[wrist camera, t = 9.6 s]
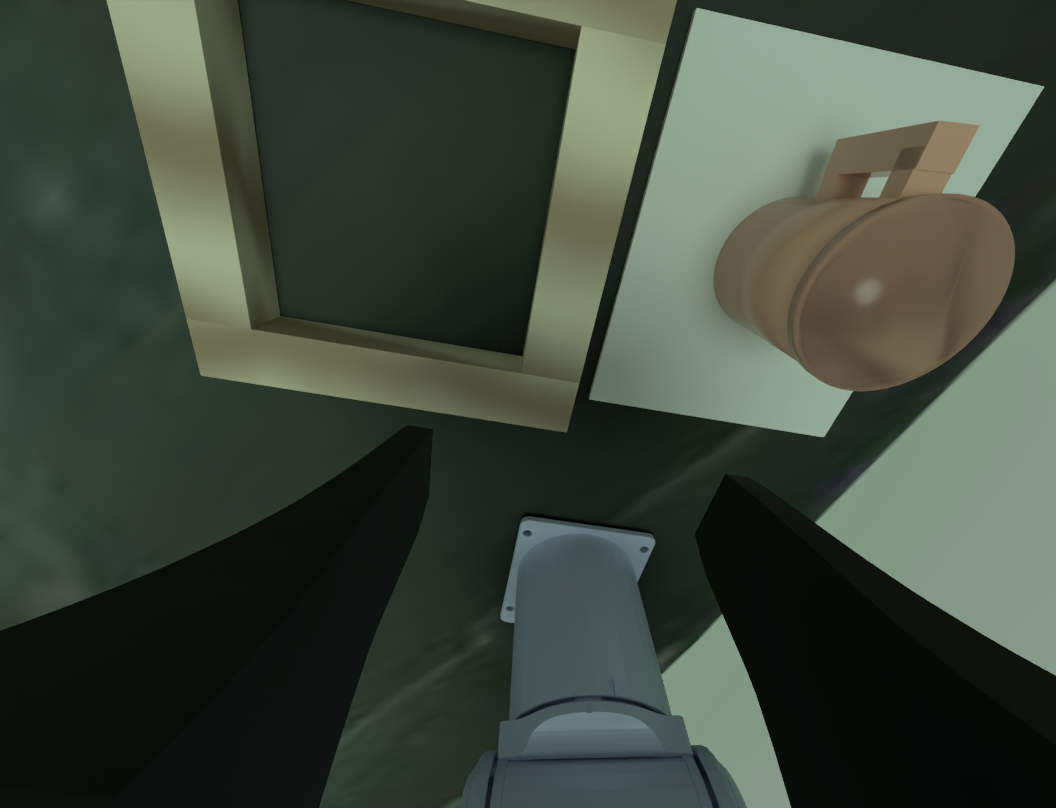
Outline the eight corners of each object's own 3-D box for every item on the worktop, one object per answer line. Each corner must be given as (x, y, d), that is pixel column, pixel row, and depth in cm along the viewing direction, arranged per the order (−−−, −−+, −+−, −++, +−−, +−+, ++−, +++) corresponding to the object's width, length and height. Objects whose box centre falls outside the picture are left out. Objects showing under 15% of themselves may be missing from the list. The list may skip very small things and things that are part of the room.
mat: (820, 434, 20) (824, 437, 19) (588, 396, 19) (589, 399, 19) (1034, 88, 13) (1044, 86, 13) (693, 12, 12) (696, 7, 12)
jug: (694, 323, 17) (765, 382, 12) (752, 137, 14) (886, 101, 8) (812, 335, 17) (935, 399, 12) (896, 153, 14) (1118, 129, 8)
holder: (564, 411, 19) (566, 432, 18) (232, 358, 18) (200, 375, 17) (673, -39, 12) (697, -81, 10) (126, -167, 11) (47, -238, 9)
